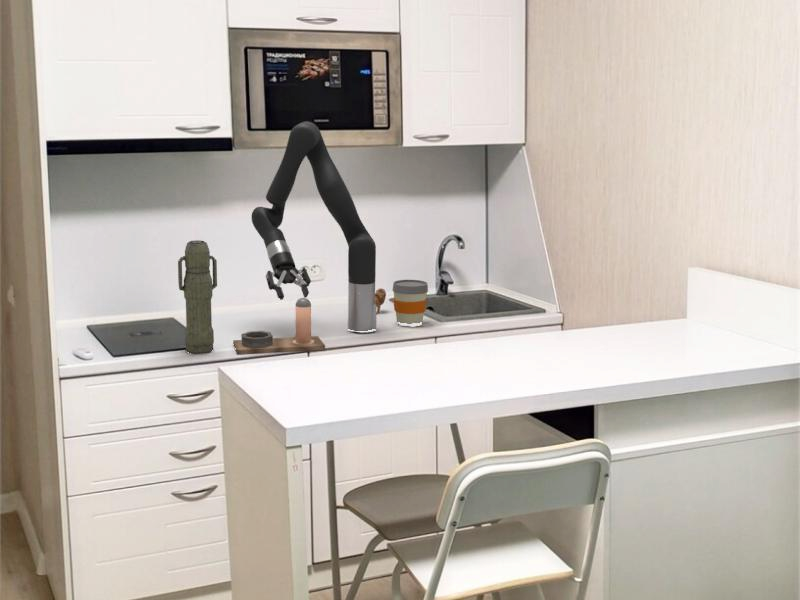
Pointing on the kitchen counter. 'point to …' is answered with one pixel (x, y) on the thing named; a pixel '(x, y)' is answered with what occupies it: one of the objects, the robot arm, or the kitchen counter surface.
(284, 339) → the jig
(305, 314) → the round-topped orange cylinder
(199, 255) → the thermos
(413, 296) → the reusable coffee cup
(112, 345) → the kitchen counter surface
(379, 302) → the lion figurine
